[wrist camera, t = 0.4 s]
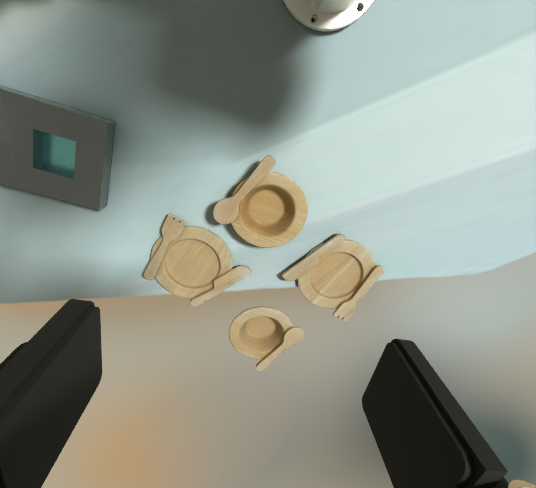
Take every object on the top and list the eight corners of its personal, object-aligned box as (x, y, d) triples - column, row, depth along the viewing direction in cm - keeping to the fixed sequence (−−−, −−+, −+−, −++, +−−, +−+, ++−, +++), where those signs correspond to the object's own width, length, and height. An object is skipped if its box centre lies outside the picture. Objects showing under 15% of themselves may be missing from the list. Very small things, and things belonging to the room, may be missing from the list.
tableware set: (392, 277, 52) (403, 290, 48) (272, 366, 59) (274, 383, 55) (254, 123, 40) (254, 124, 36) (126, 257, 47) (116, 270, 44)
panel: (-96, 54, 34) (-120, 50, 32) (115, 121, 38) (107, 122, 36) (-81, 155, 39) (-101, 157, 37) (107, 205, 43) (99, 210, 41)
